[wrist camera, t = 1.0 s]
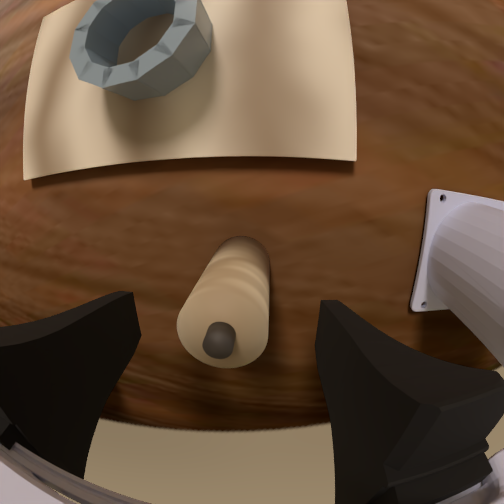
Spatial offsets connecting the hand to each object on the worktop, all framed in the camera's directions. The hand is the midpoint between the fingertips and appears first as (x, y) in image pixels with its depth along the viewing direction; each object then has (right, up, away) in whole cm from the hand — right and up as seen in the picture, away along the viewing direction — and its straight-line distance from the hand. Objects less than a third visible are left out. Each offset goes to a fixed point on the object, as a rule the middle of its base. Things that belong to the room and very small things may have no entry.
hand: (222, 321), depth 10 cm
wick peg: (+1, +2, +6) cm, 6 cm away
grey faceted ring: (-4, +14, +2) cm, 15 cm away
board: (-4, +14, +2) cm, 15 cm away
